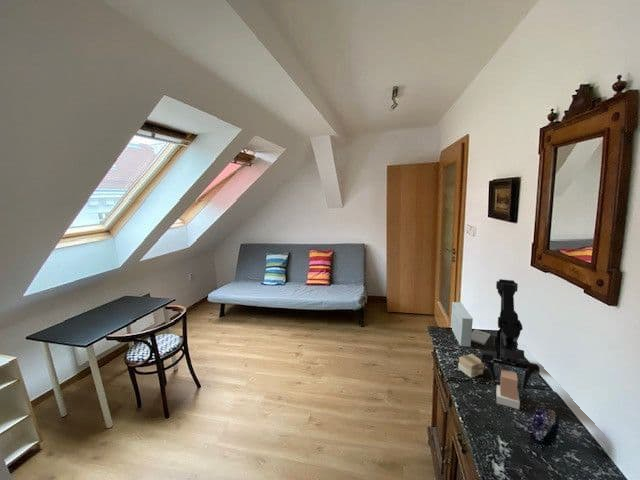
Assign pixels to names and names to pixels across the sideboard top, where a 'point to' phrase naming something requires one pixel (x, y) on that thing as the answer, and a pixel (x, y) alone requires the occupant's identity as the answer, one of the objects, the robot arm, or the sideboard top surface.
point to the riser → (507, 399)
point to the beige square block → (471, 362)
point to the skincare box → (461, 324)
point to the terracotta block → (508, 384)
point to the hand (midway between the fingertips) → (508, 386)
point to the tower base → (466, 371)
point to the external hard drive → (479, 337)
